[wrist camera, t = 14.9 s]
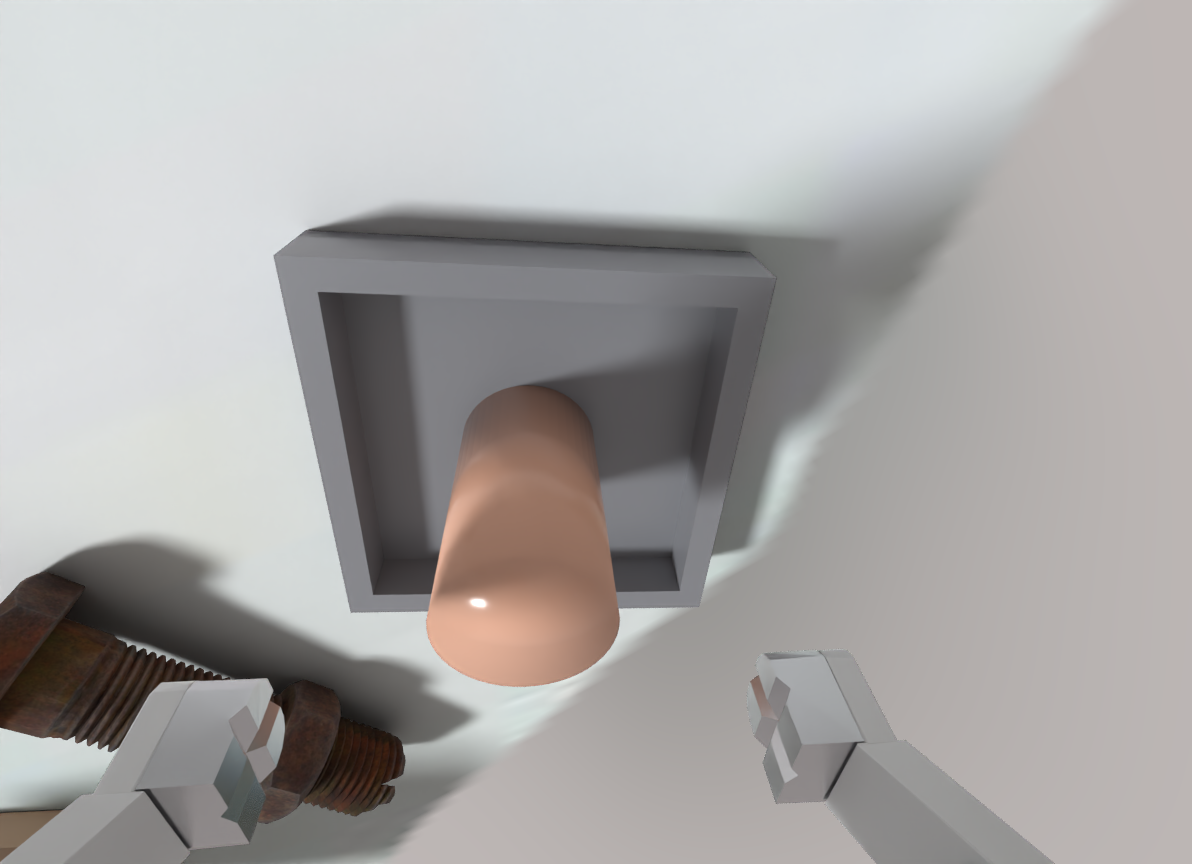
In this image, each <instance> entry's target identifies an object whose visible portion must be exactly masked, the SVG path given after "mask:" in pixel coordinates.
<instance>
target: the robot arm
mask: <svg viewBox="0 0 1192 864" xmlns="http://www.w3.org/2000/svg"><path fill="white" fill-rule="evenodd" d="M755 666H756V669H757V672H758V676H757V677H755V678H754V679H753V680H752V681H750V684H749V688H748V692H747V709H748V715H749V720H750V724H751V727H752V730H753V734H754V737H755V738H756V739H758V740H759V741H760V742H761V743H762V744H763V745H764V746H765V747H766V748H767V751H766V754H765V757H764V760H763V765H764V768H765V771H766V775H767V778H768V781H769V784H770V787H771V790H772V793H773V796H774V799H775V802H776V804H778V803H800V802H821V801H826V802H825V805H826V806H827V808H828V809H829V810H830V811H831V812H832V813H833V814H834V816H835V817H836V818H837V819H838V820H839V821H840V823H841V824H842V825H843V826H844V827H845V828H846V829H847V830H848V832H849V833H850V834H851V835H852V836H853V837H854V838H855V840H856V841H857V842H858V843H859V844H860V845H861V847H862V848H863V849H864V850H865V851H866V852H867V853H868V855H869V856H870V857H871V858H872V859H873V860H874V861H875V862H876V864H1054V862H1052V861H1051V860H1050V859H1049V858H1048V857H1046V856H1045V855H1044V854H1043V853H1042V852H1040V851H1039V850H1038V849H1037V848H1035V847H1034V846H1033V845H1032V844H1031V843H1030V842H1028V841H1027V840H1026V839H1024V838H1023V837H1022V836H1021V835H1020V834H1018V833H1017V832H1016V831H1015V830H1014V829H1013V828H1011V827H1010V826H1009V825H1008V824H1006V823H1005V822H1004V821H1003V820H1002V819H1000V818H999V817H998V816H997V815H996V814H994V813H993V812H992V811H991V810H989V809H988V808H987V807H986V806H985V805H984V804H982V803H981V802H980V801H979V800H977V799H976V798H975V797H974V796H973V795H971V794H970V793H969V792H968V791H967V790H965V789H964V788H963V787H962V786H960V785H959V784H958V783H957V782H956V781H954V780H953V779H952V778H951V777H949V776H948V775H947V774H946V773H945V772H944V771H942V770H941V769H940V768H939V767H938V766H936V765H935V764H934V763H933V762H931V761H930V760H929V759H928V758H927V757H925V756H924V755H923V754H922V753H920V752H919V751H918V750H917V749H916V748H915V747H913V746H912V745H911V744H910V743H908V742H907V741H906V740H897V739H896V737H895V735H894V733H893V731H892V729H891V728H890V726H889V724H888V722H887V720H886V718H885V716H884V714H883V712H882V710H881V708H880V706H879V704H878V703H877V701H876V699H875V697H874V695H873V694H872V691H871V689H870V687H869V685H868V684H867V682H866V680H865V678H864V676H863V674H862V672H861V670H860V668H859V666H858V664H857V663H856V661H855V659H854V657H853V655H852V654H851V653H850V652H849V651H848V650H845V649H834V650H833V649H832V650H817V651H816V650H804V651H790V652H774V653H763V654H761V655H760V656H759V657H758V660H757V662H756V665H755ZM272 693H273V689H272V687H271V685H270V683H269V681H268V679H267V678H263V679H239V680H214V681H182V682H163V683H160V684H159V685H158V686H157V687H156V688H155V689H154V690H153V691H152V692H151V693H150V694H149V696H148V698H147V700H146V701H145V703H144V705H143V707H142V708H141V710H140V712H139V714H138V715H137V717H136V719H135V721H134V722H133V724H132V726H131V727H130V729H129V731H128V733H127V734H126V736H125V738H124V740H123V741H122V743H121V745H120V747H119V748H118V750H117V752H116V754H115V755H114V757H113V759H112V761H111V762H110V764H109V766H108V768H107V769H106V771H105V773H104V775H103V776H102V778H101V780H100V782H99V783H98V785H97V787H96V789H95V790H94V792H93V794H86V795H81V796H79V797H78V798H77V799H76V800H75V801H73V802H72V803H71V804H70V805H69V806H67V807H66V808H65V809H64V810H62V811H61V812H60V813H59V814H58V815H56V816H55V817H54V818H53V819H52V820H50V821H49V822H48V823H47V824H46V825H44V826H43V827H42V828H41V829H39V830H38V831H37V832H36V833H35V834H33V835H32V836H31V837H30V838H29V839H27V840H26V841H25V842H24V843H22V844H21V845H20V846H19V847H18V848H16V849H15V850H14V851H13V852H12V853H10V854H9V855H8V856H7V857H5V858H4V859H3V860H2V861H1V862H0V864H182V863H183V861H184V860H185V859H186V858H187V857H188V856H189V855H190V852H189V850H195V849H204V848H214V847H224V846H233V845H243V844H250V842H251V839H252V836H253V833H254V830H255V827H256V824H257V821H258V819H259V816H260V813H261V810H262V807H263V804H264V801H265V798H266V796H265V793H264V790H263V787H262V785H261V782H262V781H263V780H264V779H265V778H266V777H267V776H268V775H269V774H270V773H271V772H272V771H273V770H274V769H275V768H276V766H277V763H278V760H279V757H280V754H281V751H282V747H283V740H284V733H285V723H284V715H283V712H282V710H281V707H280V706H278V705H277V704H275V703H273V702H271V701H270V698H271V695H272Z"/></svg>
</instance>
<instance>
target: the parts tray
mask: <svg viewBox="0 0 1192 864" xmlns="http://www.w3.org/2000/svg"><path fill="white" fill-rule="evenodd" d="M274 260H275V265H276V269H277V274H278V278H279V283H280V288H281V292H282V297H283V302H284V306H285V311H286V315H287V320H288V325H289V329H290V334H291V339H292V343H293V348H294V352H295V357H296V362H297V366H298V371H299V376H300V380H301V385H302V389H303V394H304V399H305V403H306V408H307V412H308V417H309V422H310V426H311V431H312V436H313V440H314V445H315V449H316V454H317V459H318V463H319V468H320V473H321V477H322V482H323V486H324V491H325V496H326V500H327V505H328V510H329V514H330V519H331V523H332V528H333V533H334V537H335V542H336V547H337V551H338V556H339V560H340V565H341V570H342V574H343V579H344V583H345V588H346V593H347V597H348V602H349V607H350V611H351V613H352V612H417V611H428V610H429V605H430V599H431V594H432V589H433V584H434V579H435V574H436V569H437V564H438V559H439V553H440V548H441V543H442V538H443V533H444V528H445V523H446V518H447V513H448V507H449V502H450V497H451V492H452V487H453V482H454V477H455V472H456V467H457V462H458V456H459V451H460V446H461V441H462V436H463V431H464V427H465V424H466V421H467V419H468V417H469V415H470V414H471V412H472V411H473V410H474V408H475V407H476V406H477V405H478V404H479V403H480V402H481V401H483V400H484V399H485V398H487V397H488V396H490V395H492V394H493V393H495V392H498V391H500V390H503V389H506V388H510V387H515V386H526V385H531V386H541V387H546V388H549V389H553V390H556V391H558V392H560V393H562V394H564V395H566V396H567V397H569V398H571V399H572V400H573V401H574V402H575V403H577V404H578V405H579V406H580V407H581V409H582V410H583V411H584V412H585V414H586V415H587V417H588V419H589V421H590V423H591V426H592V430H593V436H594V443H595V450H596V457H597V464H598V471H599V478H600V485H601V491H602V498H603V505H604V512H605V519H606V526H607V533H608V540H609V547H610V554H611V561H612V568H613V575H614V582H615V589H616V596H617V603H618V608H675V607H699V605H700V601H701V597H702V593H703V588H704V584H705V580H706V576H707V572H708V567H709V563H710V559H711V555H712V550H713V546H714V542H715V538H716V533H717V529H718V525H719V521H720V516H721V512H722V508H723V504H724V499H725V495H726V491H727V487H728V482H729V478H730V474H731V470H732V465H733V461H734V457H735V453H736V448H737V444H738V440H739V436H740V431H741V427H742V423H743V419H744V414H745V410H746V406H747V402H748V397H749V393H750V389H751V385H752V380H753V376H754V372H755V368H756V363H757V359H758V355H759V351H760V346H761V342H762V338H763V334H764V329H765V325H766V321H767V317H768V312H769V308H770V304H771V300H772V295H773V291H774V287H775V283H776V277H775V276H774V275H773V274H772V273H771V272H770V271H769V270H768V269H767V268H766V267H765V266H764V265H763V264H761V263H760V262H759V261H758V260H757V259H756V258H755V257H754V256H753V255H752V254H751V253H750V252H736V251H716V250H696V249H675V248H655V247H635V246H615V245H594V244H574V243H554V242H533V241H513V240H493V239H473V238H452V237H432V236H412V235H392V234H371V233H351V232H331V231H310V230H306V231H304V232H303V233H302V234H300V235H299V236H298V237H297V238H295V239H294V240H293V241H291V242H290V243H289V244H288V245H286V246H285V247H284V248H282V249H281V250H280V251H279V252H277V253H276V254H275V255H274Z"/></svg>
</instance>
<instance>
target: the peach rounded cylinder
mask: <svg viewBox="0 0 1192 864" xmlns="http://www.w3.org/2000/svg"><path fill="white" fill-rule="evenodd" d="M619 620H620V617H619V610H618V603H617V596H616V589H615V582H614V575H613V568H612V561H611V554H610V547H609V540H608V533H607V526H606V519H605V512H604V505H603V498H602V491H601V485H600V478H599V471H598V464H597V457H596V450H595V443H594V436H593V430H592V426H591V423H590V421H589V419H588V417H587V415H586V414H585V412H584V411H583V410H582V409H581V407H580V406H579V405H578V404H577V403H575V402H574V401H573V400H572V399H571V398H569V397H567V396H566V395H564V394H562V393H560V392H558V391H556V390H553V389H549V388H546V387H541V386H531V385H526V386H515V387H510V388H506V389H503V390H500V391H498V392H495V393H493V394H492V395H490V396H488V397H487V398H485V399H484V400H483V401H481V402H480V403H479V404H478V405H477V406H476V407H475V408H474V410H473V411H472V412H471V414H470V415H469V417H468V419H467V421H466V424H465V427H464V431H463V436H462V441H461V446H460V451H459V456H458V462H457V467H456V472H455V477H454V482H453V487H452V492H451V497H450V502H449V507H448V513H447V518H446V523H445V528H444V533H443V538H442V543H441V548H440V553H439V559H438V564H437V569H436V574H435V579H434V584H433V589H432V594H431V599H430V605H429V610H428V615H427V620H426V624H427V633H428V638H429V640H430V643H431V645H432V647H433V648H434V650H435V651H436V653H437V654H438V655H439V656H440V657H441V658H442V660H443V661H445V662H446V663H447V664H448V665H449V666H451V667H452V668H454V669H455V670H457V671H458V672H460V673H462V674H464V675H466V676H468V677H471V678H473V679H476V680H479V681H482V682H486V683H490V684H496V685H501V686H512V687H526V686H538V685H544V684H550V683H554V682H558V681H561V680H564V679H567V678H570V677H572V676H574V675H577V674H579V673H581V672H582V671H584V670H586V669H588V668H589V667H591V666H592V665H594V664H595V663H596V662H597V661H599V660H600V659H601V658H602V657H603V656H604V655H605V654H606V653H607V651H608V650H609V649H610V647H611V646H612V644H613V643H614V641H615V638H616V636H617V633H618V629H619Z"/></svg>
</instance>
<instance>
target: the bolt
mask: <svg viewBox="0 0 1192 864" xmlns="http://www.w3.org/2000/svg"><path fill="white" fill-rule="evenodd" d="M84 589H85V586H83V585H80V584H77V583H75V582H72V581H70V580H67V579H65V578H62V577H59V576H57V575H54V574H52V573H49V572H44V573H39V574H36V575H33V576H31V577H28V578H26V579H25V580H23V581H22V582H20V583H19V584H18V586H17V587H16V588H15V589H14V590H13V591H12V592H11V593H10V594H9V595H8V596H7V598H6V599H5V600H4V601H3V602H2V603H1V604H0V728H4V729H8V730H12V731H16V732H20V733H23V734H27V735H31V736H35V737H39V738H46V737H52V738H62V739H63V740H68V739H70V738H72V737H74V736H75V742H76V743H77V744H78V743H80V742H82V741H83V740H85V739H87V745H88V746H91V745H92V744H94V743H96V742H97V741H98V749H102V748H103V747H105V746H106V745H108V744H109V747H108V752H112V751H114V750H115V749H117V748H119V747H120V745H121V743H122V741H123V740H124V738H125V736H126V734H127V733H128V731H129V729H130V727H131V726H132V724H133V722H134V721H135V719H136V717H137V715H138V714H139V712H140V710H141V708H142V707H143V705H144V703H145V701H146V700H147V698H148V696H149V694H150V693H151V692H152V691H153V690H154V689H155V688H156V687H157V686H158V685H159V684H160V683H163V682H182V681H214V680H230V678H229V677H228V678H224V679H222V676H221V675H220V674H217V675H215V676H214V677H213V673H212V672H211V671H209V672H206V673H204V670H203V669H201V668H199V669H197V670H196V671H194V665H189V666H188V667H185V663H184V662H180V663H178V664H177V665H176V660H175V659H172V658H171V659H170V660H169V661H167V662H166V656H165V655H161V656H160V657H158V658H157V656H156V653H155V652H151V653H150V654H149V655H147V652H146V649H144V648H143V649H141V650H139V651H138V652H136V646H134V645H131V646H130V647H128V648H127V644H126V642H124V641H121V640H118V639H117V638H116V637H115V636H114V635H112V634H109V633H106V632H103V631H100V630H98V629H95V628H92V627H89V626H86V625H83V624H80V623H77V622H75V621H72V620H69V619H66V618H65V616H66V615H67V614H68V612H69V611H70V609H71V608H72V606H73V605H74V604H75V602H76V601H77V599H78V598H79V596H80V595H81V594H82V592H83V591H84ZM270 701H271V702H273V703H275V704H277V705H278V706H280V707H281V710H282V712H283V715H284V723H285V733H284V740H283V747H282V751H281V754H280V757H279V760H278V763H277V766H276V768H275V769H274V770H273V771H272V772H271V773H270V774H269V775H268V776H267V777H266V778H265V779H264V780H263V781H262V782H261V785H262V787H263V790H264V793H265V796H266V798H265V801H264V804H263V807H262V810H261V813H260V816H259V819H258V821H257V822H260V823H265V824H268V823H270V822H273V821H276V820H278V819H281V818H283V817H285V816H287V815H288V814H290V813H291V812H292V811H294V810H295V809H296V808H297V807H298V806H299V805H300V804H301V803H302V801H303V802H304V803H305V804H307V803H310V802H311V804H312V805H313V806H315V805H318V804H319V806H320V807H321V808H324V807H327V809H329V810H333V809H335V810H336V811H337V812H338V813H339V812H343V813H344V814H345V815H346V814H349V813H350V815H351V816H357V815H359V814H360V813H362V812H366V811H370V810H374V809H375V808H376V807H377V806H378V805H380V804H387V803H389V802H390V801H391V799H392V798H393V796H394V794H395V786H388V785H382V784H383V783H386V782H389V781H390V780H392V779H395V778H398V777H399V776H401V775H402V774H403V772H404V766H405V755H404V753H403V746H402V743H401V741H400V740H399V739H398V737H396V736H393V735H392V734H390V733H386V732H385V731H383V730H378V729H376V728H373V729H372V727H371V726H365V725H364V724H359V723H358V722H356V721H352V722H351V721H350V719H344V718H343V717H341V709H340V703H339V700H338V697H337V696H336V694H335V692H334V691H333V690H331V689H329V688H326V687H324V686H321V685H318V684H316V683H313V682H310V681H308V680H301V681H298V682H296V683H294V684H291V685H289V686H288V687H287V688H286V689H285V690H284V691H283V692H282V693H281V694H280V695H275V696H273V693H272V695H271V698H270Z"/></svg>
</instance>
